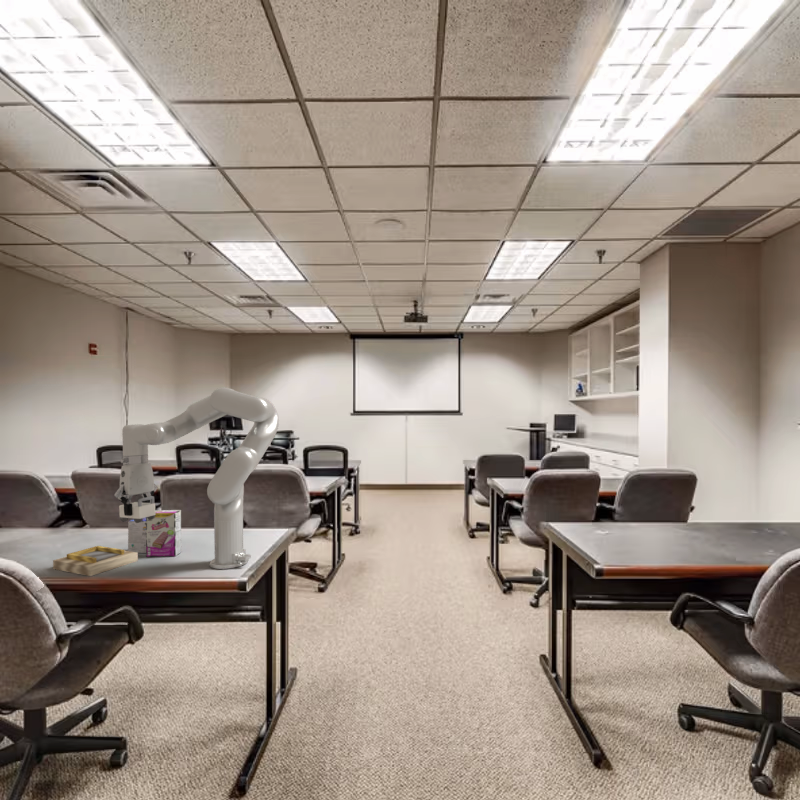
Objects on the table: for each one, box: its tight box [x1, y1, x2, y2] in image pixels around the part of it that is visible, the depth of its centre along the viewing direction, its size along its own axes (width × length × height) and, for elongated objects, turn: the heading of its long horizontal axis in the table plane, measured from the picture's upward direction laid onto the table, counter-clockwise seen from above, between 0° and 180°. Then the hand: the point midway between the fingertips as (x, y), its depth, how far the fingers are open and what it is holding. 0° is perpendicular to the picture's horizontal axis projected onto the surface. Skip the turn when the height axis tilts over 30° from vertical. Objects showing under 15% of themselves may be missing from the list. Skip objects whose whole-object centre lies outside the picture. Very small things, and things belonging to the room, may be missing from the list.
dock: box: [52, 545, 139, 577], centre depth 168 cm, size 20×17×4 cm
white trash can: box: [118, 495, 156, 523], centre depth 163 cm, size 10×6×8 cm, turn 66°
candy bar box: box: [145, 509, 182, 558], centre depth 179 cm, size 11×5×16 cm, turn 90°
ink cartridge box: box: [127, 517, 146, 554], centre depth 185 cm, size 10×6×14 cm, turn 84°
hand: (137, 512), depth 163 cm, fingers closed on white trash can, 6 cm apart
